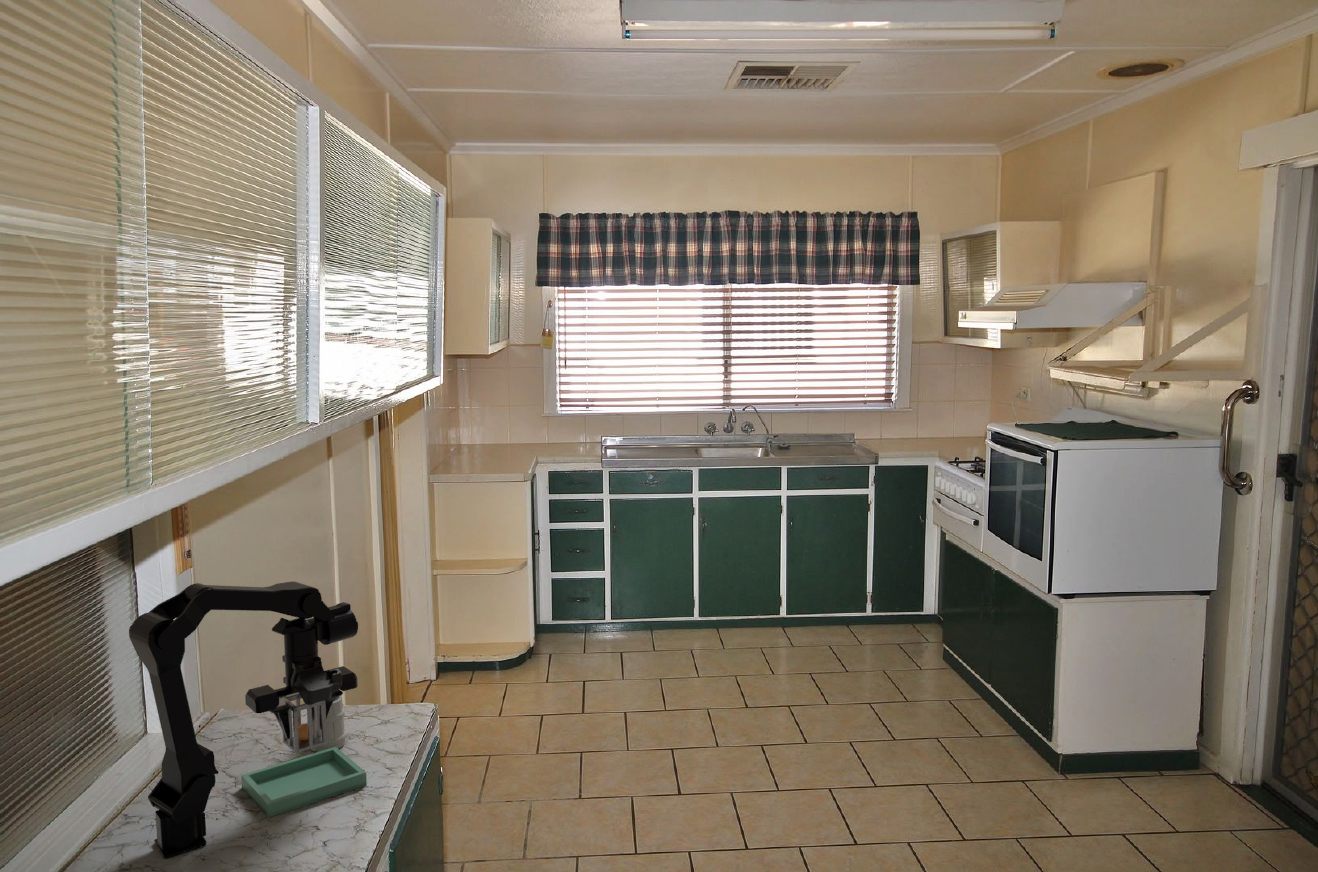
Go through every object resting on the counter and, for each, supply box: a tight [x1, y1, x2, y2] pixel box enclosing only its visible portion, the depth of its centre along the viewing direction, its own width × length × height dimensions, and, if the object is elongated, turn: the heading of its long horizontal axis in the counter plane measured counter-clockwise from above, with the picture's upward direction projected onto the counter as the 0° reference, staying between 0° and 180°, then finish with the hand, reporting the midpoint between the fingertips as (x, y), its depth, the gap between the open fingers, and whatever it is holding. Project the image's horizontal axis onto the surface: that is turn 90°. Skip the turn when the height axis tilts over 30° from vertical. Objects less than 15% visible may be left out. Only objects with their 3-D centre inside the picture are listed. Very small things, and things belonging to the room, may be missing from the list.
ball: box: [298, 723, 314, 740], centre depth 176 cm, size 3×3×3 cm
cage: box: [282, 695, 327, 754], centre depth 175 cm, size 6×6×8 cm
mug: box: [310, 695, 348, 752], centre depth 197 cm, size 8×12×12 cm, turn 17°
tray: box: [240, 747, 368, 818], centre depth 178 cm, size 18×14×2 cm
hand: (304, 733), depth 176 cm, fingers closed on cage, 6 cm apart
